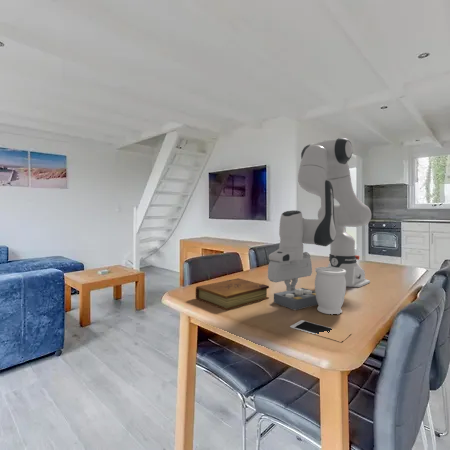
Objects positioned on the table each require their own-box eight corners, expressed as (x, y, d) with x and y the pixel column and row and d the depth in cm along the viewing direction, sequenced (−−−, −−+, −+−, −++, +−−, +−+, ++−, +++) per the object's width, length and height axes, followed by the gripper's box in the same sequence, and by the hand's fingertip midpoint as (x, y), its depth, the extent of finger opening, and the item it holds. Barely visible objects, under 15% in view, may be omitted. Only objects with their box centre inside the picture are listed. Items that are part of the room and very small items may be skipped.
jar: (309, 306, 113) (310, 266, 112) (336, 306, 114) (337, 266, 113) (321, 316, 102) (322, 272, 101) (350, 316, 103) (352, 272, 102)
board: (302, 296, 127) (302, 287, 126) (324, 302, 117) (324, 293, 117) (273, 302, 118) (273, 292, 118) (294, 310, 109) (295, 300, 108)
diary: (236, 290, 137) (237, 278, 137) (268, 300, 123) (269, 285, 123) (195, 299, 122) (195, 285, 122) (226, 311, 108) (226, 295, 108)
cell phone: (341, 344, 82) (341, 342, 82) (289, 328, 93) (289, 326, 93) (352, 335, 88) (352, 333, 88) (301, 321, 99) (301, 319, 99)
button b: (307, 297, 123) (307, 289, 122) (313, 298, 120) (313, 291, 120) (301, 298, 121) (301, 290, 121) (308, 300, 118) (308, 292, 118)
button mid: (298, 295, 120) (298, 288, 120) (305, 297, 117) (305, 289, 117) (292, 296, 118) (293, 289, 118) (299, 298, 115) (299, 291, 115)
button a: (289, 300, 117) (289, 293, 117) (295, 303, 114) (295, 295, 114) (283, 302, 115) (283, 294, 115) (289, 304, 113) (289, 296, 112)
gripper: (303, 250, 122) (303, 284, 123) (265, 255, 111) (265, 292, 112) (316, 252, 117) (315, 287, 118) (277, 257, 106) (277, 296, 107)
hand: (290, 290), depth 115 cm, fingers closed
